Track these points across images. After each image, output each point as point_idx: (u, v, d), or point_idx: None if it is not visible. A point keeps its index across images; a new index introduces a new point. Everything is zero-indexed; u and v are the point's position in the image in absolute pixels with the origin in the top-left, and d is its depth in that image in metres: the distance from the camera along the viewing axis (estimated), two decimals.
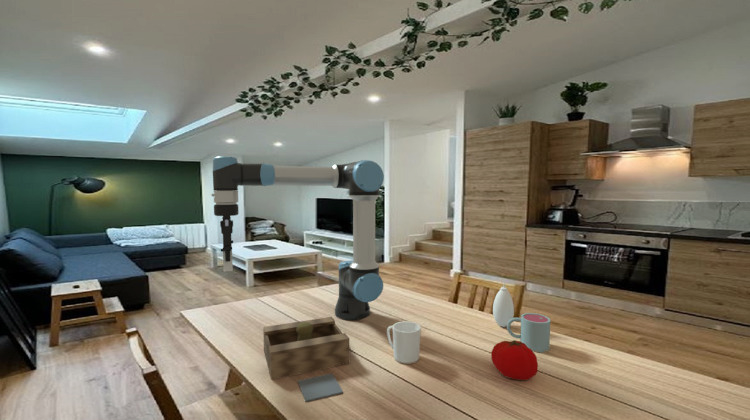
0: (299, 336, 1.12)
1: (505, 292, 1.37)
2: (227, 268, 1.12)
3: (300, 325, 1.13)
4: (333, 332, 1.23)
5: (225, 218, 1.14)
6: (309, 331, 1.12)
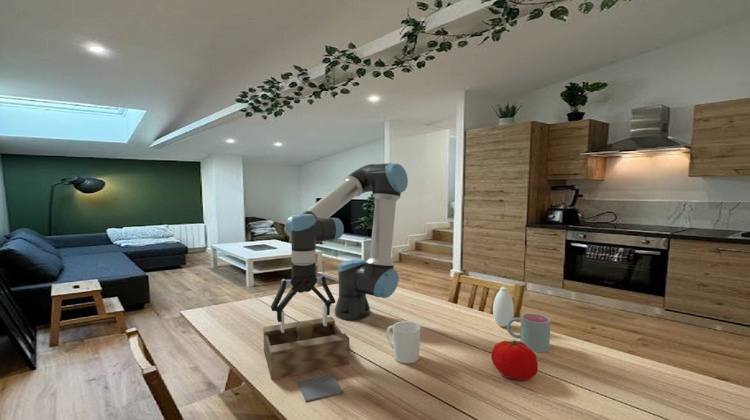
0: (299, 336, 1.12)
1: (505, 292, 1.37)
2: (281, 328, 1.11)
3: (300, 325, 1.13)
4: (333, 332, 1.23)
5: (291, 278, 1.11)
6: (309, 331, 1.12)
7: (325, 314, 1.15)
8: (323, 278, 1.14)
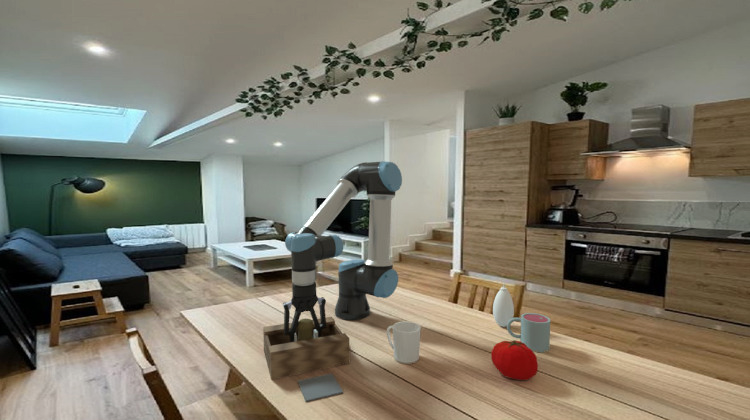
0: (300, 332, 1.13)
1: (505, 292, 1.37)
2: None
3: (300, 322, 1.13)
4: (333, 332, 1.23)
5: (291, 299, 1.12)
6: (310, 327, 1.12)
7: None
8: (323, 300, 1.15)
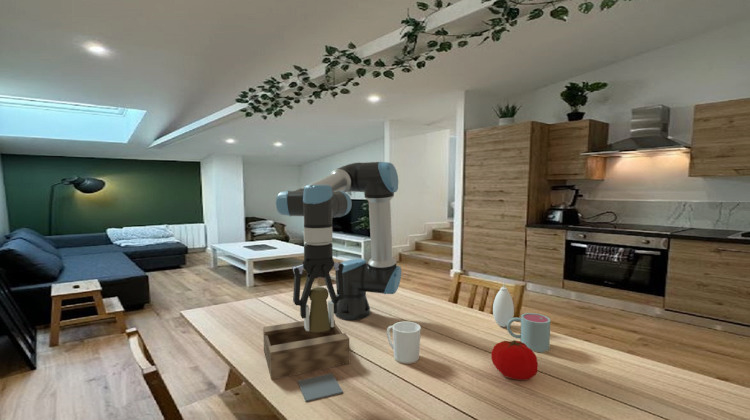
0: (312, 303, 0.94)
1: (505, 292, 1.37)
2: (305, 326, 0.95)
3: (313, 290, 0.94)
4: (333, 332, 1.23)
5: None
6: (324, 297, 0.94)
7: (332, 312, 0.96)
8: (341, 265, 0.96)
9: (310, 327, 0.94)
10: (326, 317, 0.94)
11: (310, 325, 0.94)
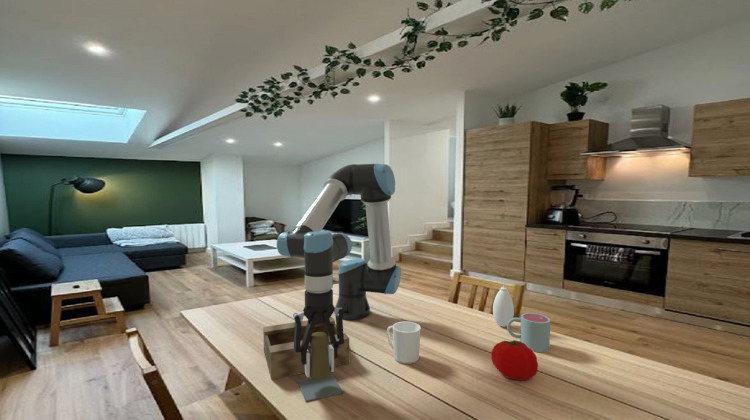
0: (313, 349, 0.95)
1: (505, 292, 1.37)
2: (305, 371, 0.95)
3: (314, 336, 0.95)
4: None
5: None
6: (325, 343, 0.94)
7: (332, 357, 0.97)
8: (341, 311, 0.97)
9: (311, 373, 0.95)
10: (326, 363, 0.95)
11: (311, 371, 0.95)
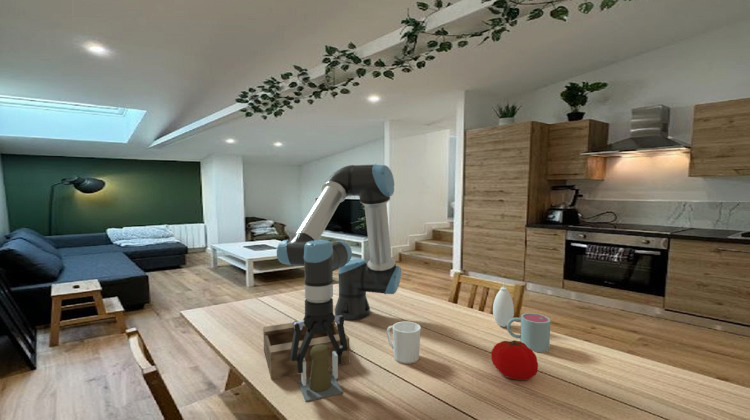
0: (314, 362, 0.95)
1: (505, 292, 1.37)
2: (302, 379, 0.95)
3: (315, 349, 0.95)
4: (333, 332, 1.23)
5: (304, 317, 0.94)
6: (325, 356, 0.95)
7: (336, 364, 0.97)
8: (342, 319, 0.97)
9: (311, 386, 0.95)
10: (327, 376, 0.96)
11: (311, 384, 0.95)
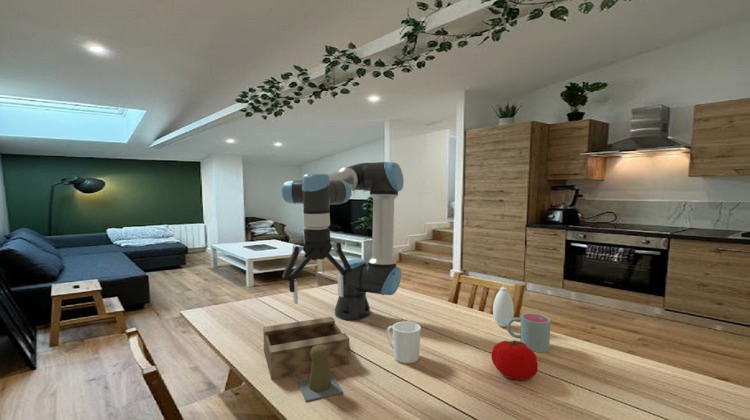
0: (313, 362, 0.95)
1: (505, 292, 1.37)
2: (293, 299, 1.01)
3: (315, 349, 0.95)
4: (333, 332, 1.23)
5: (304, 244, 1.01)
6: (325, 356, 0.95)
7: (341, 284, 1.05)
8: (338, 244, 1.04)
9: (311, 386, 0.95)
10: (327, 376, 0.96)
11: (311, 384, 0.95)
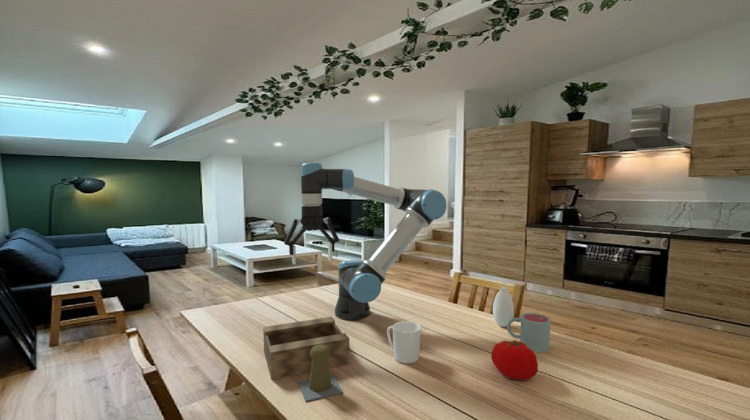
0: (313, 362, 0.95)
1: (505, 292, 1.37)
2: (292, 261, 1.29)
3: (315, 349, 0.95)
4: (333, 332, 1.23)
5: (301, 217, 1.29)
6: (325, 356, 0.95)
7: (330, 250, 1.33)
8: (328, 219, 1.32)
9: (311, 386, 0.95)
10: (327, 376, 0.96)
11: (311, 384, 0.95)
